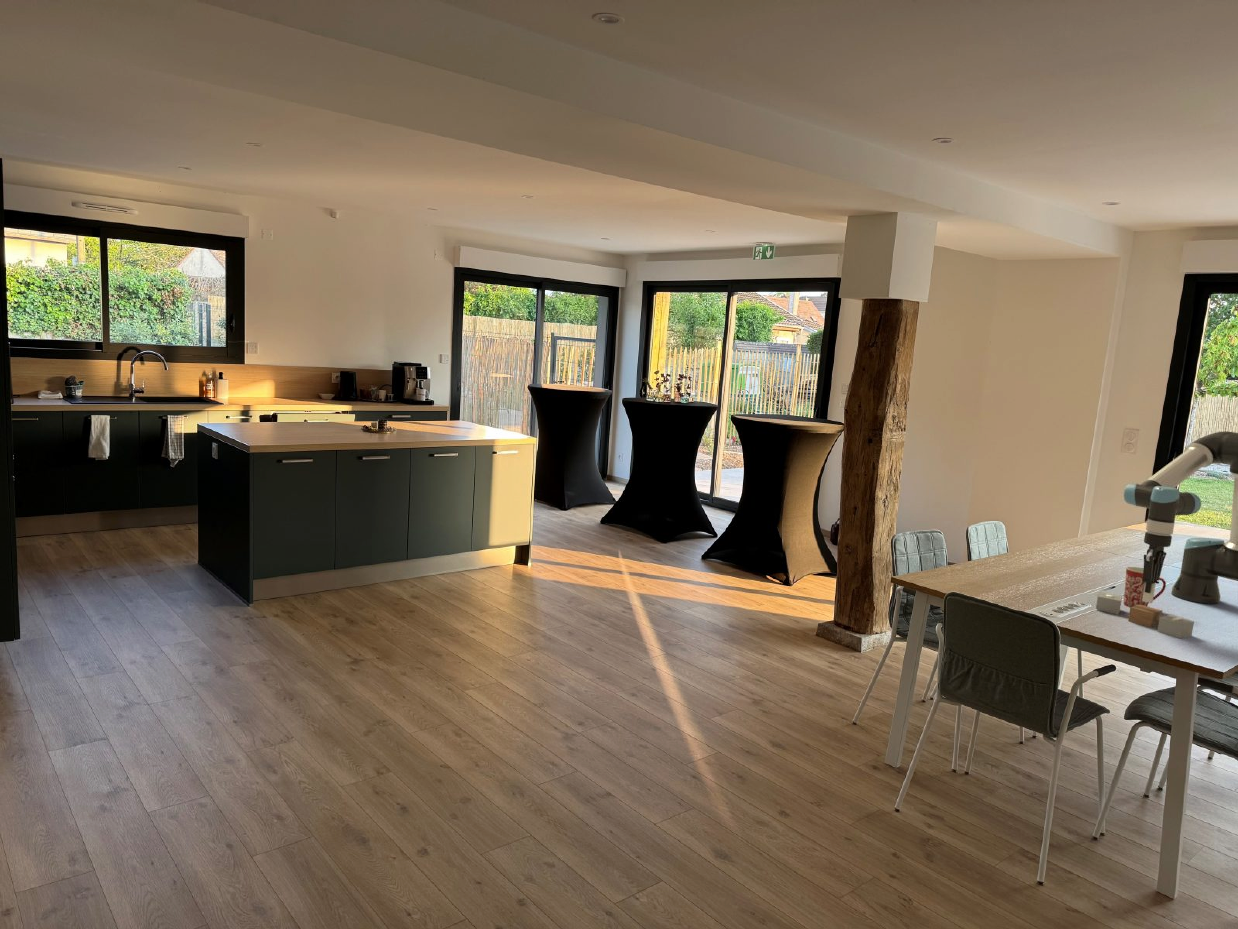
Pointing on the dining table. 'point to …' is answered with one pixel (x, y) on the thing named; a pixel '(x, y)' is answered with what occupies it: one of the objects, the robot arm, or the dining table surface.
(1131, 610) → the walnut block
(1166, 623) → the marked block
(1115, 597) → the marked block
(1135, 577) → the mug
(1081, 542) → the dining table surface
